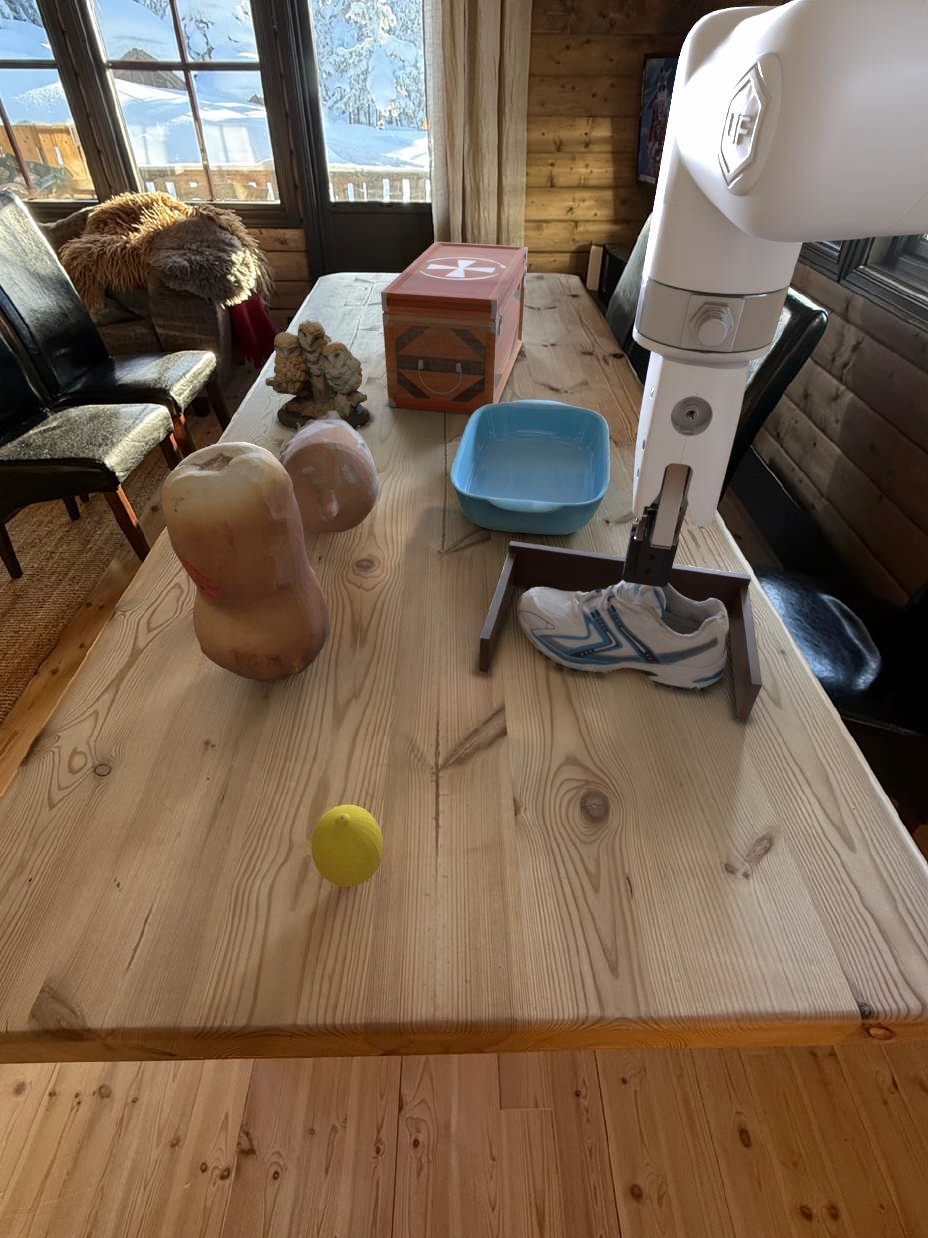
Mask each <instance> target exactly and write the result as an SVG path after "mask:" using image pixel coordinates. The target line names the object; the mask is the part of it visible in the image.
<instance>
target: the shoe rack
mask: <svg viewBox="0 0 928 1238" xmlns="http://www.w3.org/2000/svg"><path fill="white" fill-rule="evenodd" d="M625 557H626V556H622V555H615V554H606V553H600V552H593V551H585V550H579V549H571V548H566V547H565V548H564V547H557V546H550V545H542V544H536V543H529V542H522V541H515V540H510V541H509V544H508V553H507V555H506V558H505V562H504V563H503V564H504V565H503V567H502V571H501V572H500V577H499V580H498V583H497V585H496V588H495V592H494V595H493V597H492V600H491V604H490V606H489V609H488V612H487V616H486V619H485V621H484V625H483V628H482V630H481V633H480V636H479V654H478V655H479V656H478V657H479V659H478V672H480V673H485V674H488V673H489V670H490V667H491V663H492V660H493V657H494V655H495V651H496V647H497V644H498V640H499V638H500V634H501V630H502V627H503V625H504V620H505V617H506V614H507V611H508V607H509V605H510V601H511V598H512V594H513V591H514V587H515V586H517V587H522V588H530V589H531V588H534V587H548V588H553V589H557V590H561V591H569V592H577V591H581V592H582V593H586V592H592V591H593V590H598V589H607V588H608V587H609V586H612V585H616V584H619V583H620V582H621V581H622V580H623V571H624V570H623V568H624V562H625ZM751 582H752V577H751V574H750V573H742V572H734V571H728V570H721V569H713V568H706V567H699V566H692V565H685V564H680V563H679V564H677V563H673V566H672V570H671V574H670V578H669V581H668V583H669V584H670V585H671V586H672V587H673V588H674V589H675V590H676V591H677V592H678V593H679V594H681V595H682V596H684V597H686V598H688V599H691V600H693V601H697V602H702V601H706V600H707V599H709V598H715V599H717V600H719V601H721V602H722V603H723V604H724V606H725V608H726V611H727V616H728V623H729V632H728V633H729V642H730V643H729V644H730V652H731V663H732V673H733V683H734V696H735V705H736V716H737V718H739V719H744V720H748V719H749V717H750V714H751V712H752V710H753V707H754V705H755V703H756V700H757V698H758V696H759V693H760V692H761V689H762V687H763V681H762V673H761V667H760V660H759V652H758V644H757V638H756V630H755V622H754V615H753V608H752V602H751V593H750V587H749V586H750V584H751Z"/></svg>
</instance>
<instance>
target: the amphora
mask: <svg viewBox="0 0 928 1238" xmlns="http://www.w3.org/2000/svg"><path fill="white" fill-rule="evenodd" d="M277 460H278V461H279V462H280V463H281V465H282V466H283V468H284V469H285V470H286V472H287V473H288V474H289V476H290V478H291V481H292V484H293V492H294V495H295V498H296V501H297V505H298V508H299V512H300V515H301V519H302V526H303V528H305V529H307V530H309V531H311V532H313V533H318V534H341V533H345V532H348V531H351V530H353V529H354V528H356V527H358V526H360V524H362V522H364V520H366V519H367V517H368V516H369V515H370V513H371V512H372V510H373V509H374V507H376V504H377V499H378V496H379V491H380V480H379V475H378V471H377V467H376V464H375V460H374V457H373V455H372V452H371V451H370V449H369V447H368V445H367V443H366V440H365V438H364V437H363V436H362V435H361V434H360V433H359V432H358V431H356V429H353V428H352V426H350V425H349V424H348V423H347V422H346V421H344V420H343V419H341V418H340V416H339V414H338V412H337V411H328V412H327V414H326V415H324V416H321V417H319V418H318V419H316V420H312V419H311V420H309V421H307V422H306V424H305V425H304V426H303V427H301V428H300V427H299V428H298V429H297V430H296V432H295V433H294V434H293V436H291V438H290V441H289V442H287V443H286V444H285V445H284V447H283V448H282V449H280V450H279V458H277Z"/></svg>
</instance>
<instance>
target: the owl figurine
mask: <svg viewBox="0 0 928 1238" xmlns="http://www.w3.org/2000/svg"><path fill="white" fill-rule="evenodd" d="M273 342H274V343H273V346H274V351H275V355H274V356H275V357H274V361H273V363H274V366H273V373H274V375H273V376H269V377H265V381H264V382H265V386H267V387H272V390H273V391H274V392H276V393H277V394H281V395H291V396H293V397H292V398H291V399H289V400H287V401H285V403H284V404H282V405H281V407H279V409H278V410H277V412H276V416H277V420H278V422H279V424H281V425H282V426H283V427H285V428H288V429H293V430H295V431H298V430H299V429H300V428H301V427H303V426H304V425H305V424H306V422H307V421H309V420H311V419H312V420H316V419H318V418H319V417H321V416H324V415H326V414H327V412H328V411H337V412H338V414H339V416H340V418H341V419H343V420H344V421H346V422H347V423H348V424H349V425H350V426H352V428H353V429H354V430H356V429H358V427H359V428H363V427H365V426H366V425H367V424H368V423H369V422H370V420H371V413H370V411H369V410H368V408H366V407H364V405H362V403H365V402H366V401H367V400H368V395H367V394H366V393H365V392H361V391H359V390H358V389H359V388H360V387H361V385H362V383H363V373H362V372H363V368H362V367H361V366H362V362H361V361H360V359H358V358H357V357H355V356H354V355H353V354H352V352H351V350H349V348H348V347H347V346H346V344H344V343H343V342H342V341H333V340H332V337H331V336H330V335H328V334H326V330H325V328H324V326H323V325H322V324H320V322H319V321H317V320H315V319H312V318H308V319H305V320H303V321H301V322H300V323H299V325H298V327H297V334H295V333H292V332H290V331H282V332H280V333H278V334H276V335H275V337H274V341H273Z"/></svg>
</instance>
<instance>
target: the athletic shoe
mask: <svg viewBox="0 0 928 1238" xmlns="http://www.w3.org/2000/svg"><path fill="white" fill-rule="evenodd" d="M517 619H518V626H519V627H520V629H521V631H522V632H523V635H524V637H525V638H526V639H527V640H528V641H529V642H531V643H532V645H533V646H534V647H535V648H536V650H537V651H538V653H539V655H543V654H544V655H546V656H547V657H548V658H549V659H550V660H552V661H553V662H554V663H555V665H556V666H558V667H560V668H564V667H567V668H568V669H569V670H570V671H571V672H580V673H583V674H589V673H591V672H593V673H594V674H597V675H603V674H608V673H611V672H613V671H615V670H620V669H621V670H622V669H632V670H635V671H637V672H638V673H641V674H642V675H644V676H645V677H646V678H647V679H648V680H651V681H652V682H653V683H655V684H657V685H659V686H662V687H666V688H669V689H672V688H673V689H675V690H682V691H689V690H691V689H694V688H695V687H696V688H697V689H698V690H700V691H704V690H706V689H708V688H710V687H712V685H715V683H717V682H718V681H720V680H721V679H722V677H723V673H724V671H725V665H726V663H727V661H728V659H727V658H728V652H727V648H726V646H727V642H728V636H729V633H730V632H729V621H728V616H727V611H726V608H725V606H724V604H723V603H722V602H721V601H719V600H717V599H715V598H709V599H707V600H706V601H702V602H697V601H693V600H691V599H688V598H686V597H684V596H682V595H681V594H679V593H678V592H677V591H676V590H675V589H674V588H673V587H672V586H671V585H670V584H669V583H668V585H667V586H666V587H655V586H648V585H641V584H635V583H628V582H625V581H624V580H622V581H621V582H620V583H619V584H616V585H612V586H609V587H608V588H607V589H598V590H593V591H592V592H586V593H582V592H581V591H577V592H569V591H561V590H557V589H553V588H548V587H534V588H530V589H528V590H527V591H524V592H522V594H521V595H520V596H519V598H518V600H517Z"/></svg>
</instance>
